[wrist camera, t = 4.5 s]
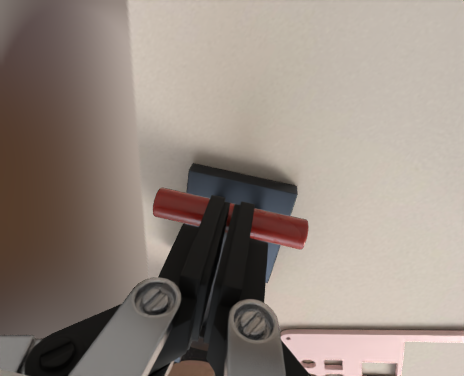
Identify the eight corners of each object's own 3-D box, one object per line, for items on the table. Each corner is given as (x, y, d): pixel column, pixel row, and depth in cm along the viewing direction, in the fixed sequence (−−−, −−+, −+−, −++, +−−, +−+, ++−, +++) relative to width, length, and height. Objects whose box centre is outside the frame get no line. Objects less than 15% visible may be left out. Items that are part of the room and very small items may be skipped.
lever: (167, 171, 13) (145, 215, 11) (309, 202, 12) (308, 252, 11) (174, 308, 24) (164, 340, 22) (250, 326, 23) (245, 360, 22)
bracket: (192, 162, 29) (129, 273, 17) (297, 185, 28) (304, 314, 17) (183, 253, 35) (132, 378, 24) (268, 273, 35) (259, 409, 23)
